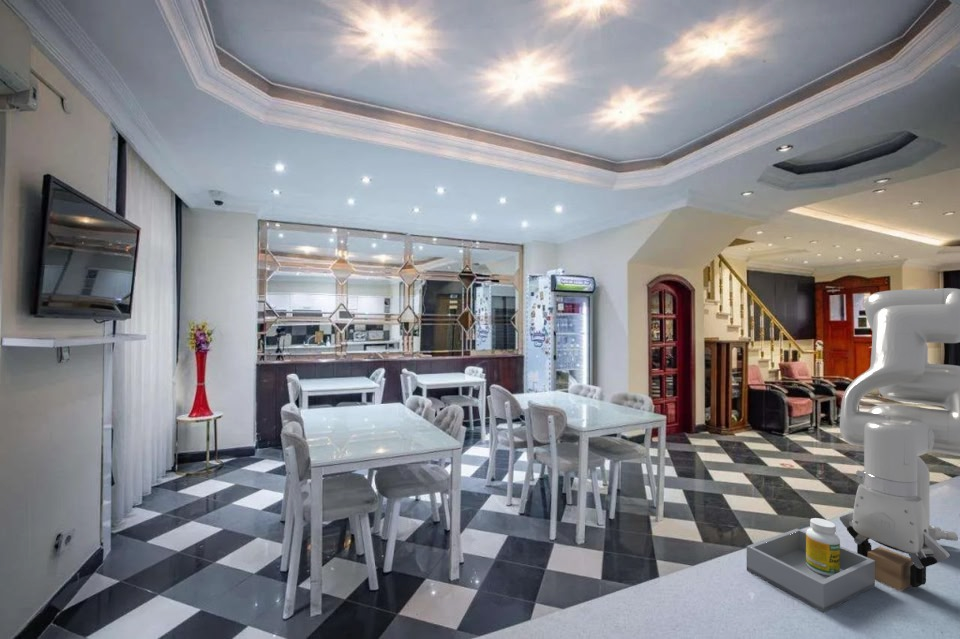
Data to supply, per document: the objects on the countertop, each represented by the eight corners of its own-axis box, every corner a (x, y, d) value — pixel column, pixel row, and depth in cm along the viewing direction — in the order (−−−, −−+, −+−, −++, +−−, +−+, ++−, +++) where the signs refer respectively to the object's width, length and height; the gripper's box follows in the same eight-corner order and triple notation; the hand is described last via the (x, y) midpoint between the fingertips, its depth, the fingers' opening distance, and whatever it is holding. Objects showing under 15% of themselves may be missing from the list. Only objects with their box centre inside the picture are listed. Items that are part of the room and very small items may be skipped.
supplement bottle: (812, 558, 88) (813, 513, 88) (844, 572, 84) (845, 524, 84) (800, 566, 85) (801, 519, 85) (832, 580, 81) (833, 531, 81)
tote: (797, 550, 93) (797, 528, 93) (874, 586, 80) (874, 560, 80) (746, 570, 86) (746, 546, 86) (823, 612, 73) (823, 584, 73)
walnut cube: (880, 570, 86) (880, 546, 86) (913, 584, 81) (913, 559, 81) (867, 576, 84) (867, 552, 84) (900, 591, 79) (900, 565, 79)
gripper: (827, 472, 89) (827, 555, 89) (944, 506, 73) (944, 607, 73) (846, 467, 92) (846, 547, 92) (962, 498, 76) (962, 595, 76)
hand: (889, 573), depth 82 cm, fingers open, 7 cm apart
